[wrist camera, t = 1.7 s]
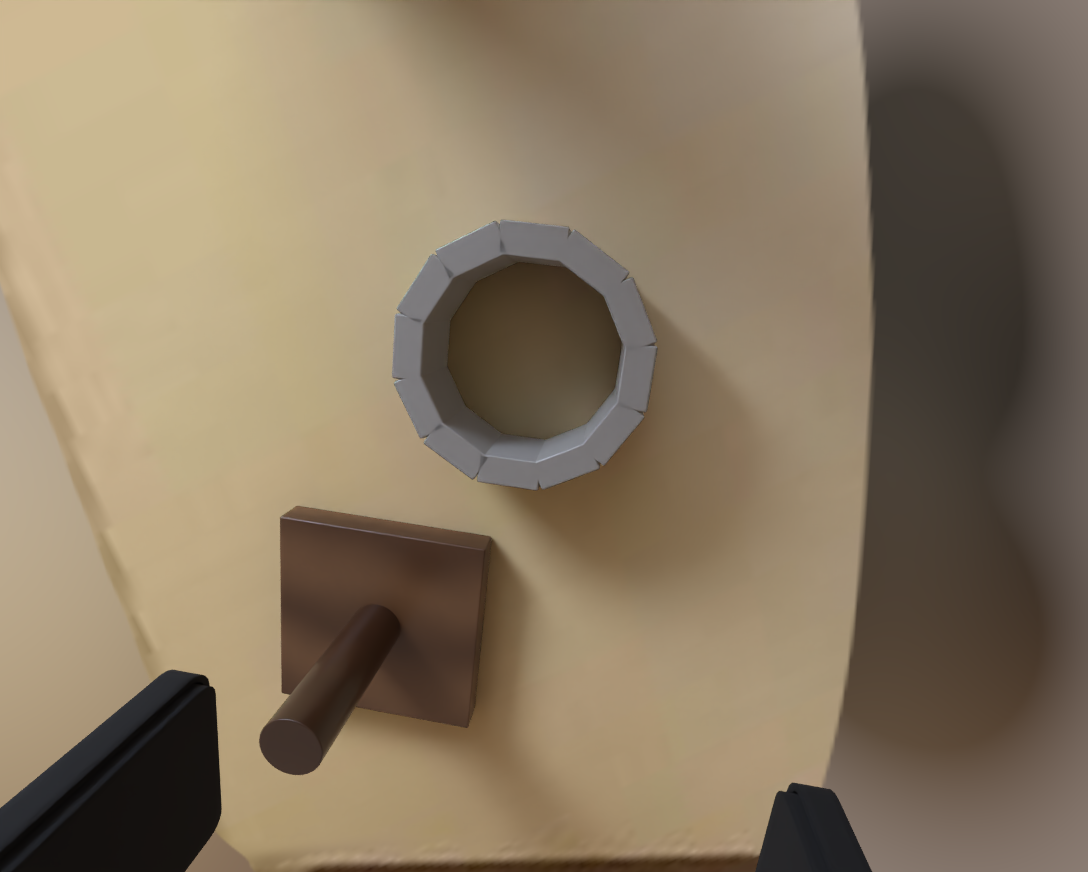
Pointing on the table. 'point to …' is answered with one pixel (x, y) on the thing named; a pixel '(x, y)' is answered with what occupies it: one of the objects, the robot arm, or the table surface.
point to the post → (373, 627)
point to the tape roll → (435, 390)
